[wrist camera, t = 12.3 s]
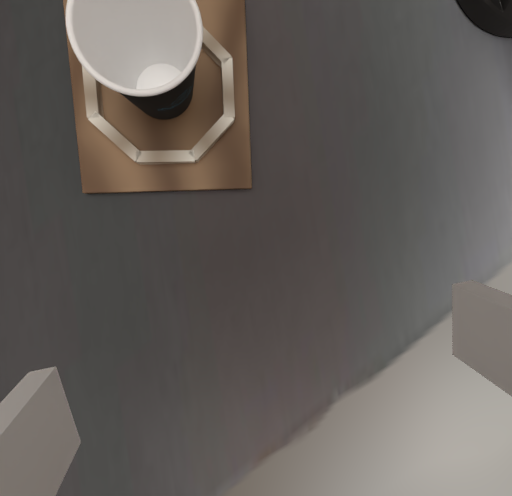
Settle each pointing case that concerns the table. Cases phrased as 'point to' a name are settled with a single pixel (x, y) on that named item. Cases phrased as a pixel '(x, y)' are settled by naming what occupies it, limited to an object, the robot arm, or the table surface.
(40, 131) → the table surface
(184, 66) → the dixie cup
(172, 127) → the board
